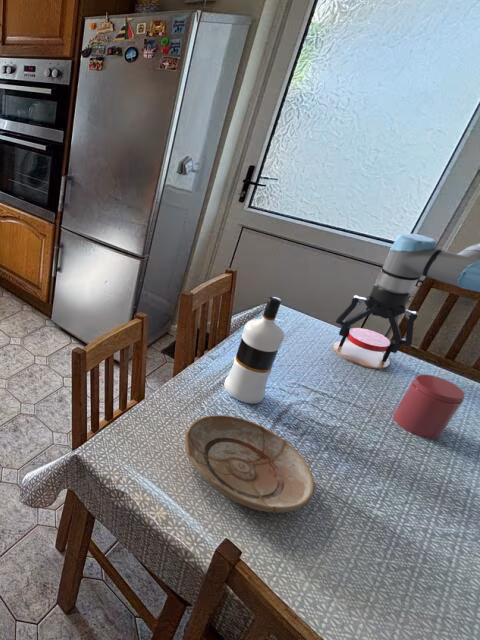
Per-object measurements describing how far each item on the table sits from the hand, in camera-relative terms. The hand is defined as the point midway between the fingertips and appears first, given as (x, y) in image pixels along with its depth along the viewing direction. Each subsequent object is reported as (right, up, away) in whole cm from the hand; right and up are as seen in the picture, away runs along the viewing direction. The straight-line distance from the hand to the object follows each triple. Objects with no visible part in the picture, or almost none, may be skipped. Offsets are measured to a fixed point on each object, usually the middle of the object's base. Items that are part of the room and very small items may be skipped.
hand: (362, 351), depth 125 cm
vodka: (-45, -8, -13) cm, 47 cm away
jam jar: (-9, -13, -23) cm, 28 cm away
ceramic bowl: (-60, -19, -34) cm, 71 cm away
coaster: (0, -1, +1) cm, 1 cm away
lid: (0, +5, -2) cm, 5 cm away
